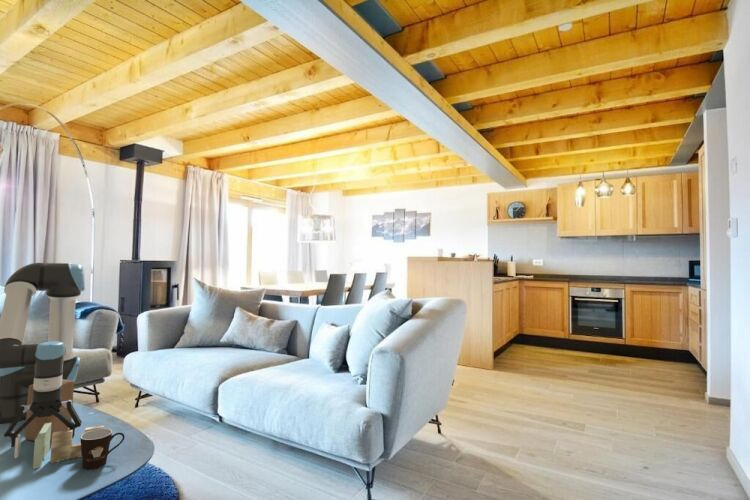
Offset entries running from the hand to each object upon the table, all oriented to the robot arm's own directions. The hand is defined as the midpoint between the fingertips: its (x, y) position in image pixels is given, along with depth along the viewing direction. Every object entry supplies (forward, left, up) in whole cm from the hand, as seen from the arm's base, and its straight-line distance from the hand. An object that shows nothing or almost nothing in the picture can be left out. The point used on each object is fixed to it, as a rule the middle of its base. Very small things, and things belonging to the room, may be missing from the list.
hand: (42, 452), depth 133 cm
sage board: (+1, 0, -1) cm, 2 cm away
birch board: (+7, +9, -1) cm, 11 cm away
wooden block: (-17, +2, -2) cm, 18 cm away
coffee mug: (+17, +15, -2) cm, 22 cm away
